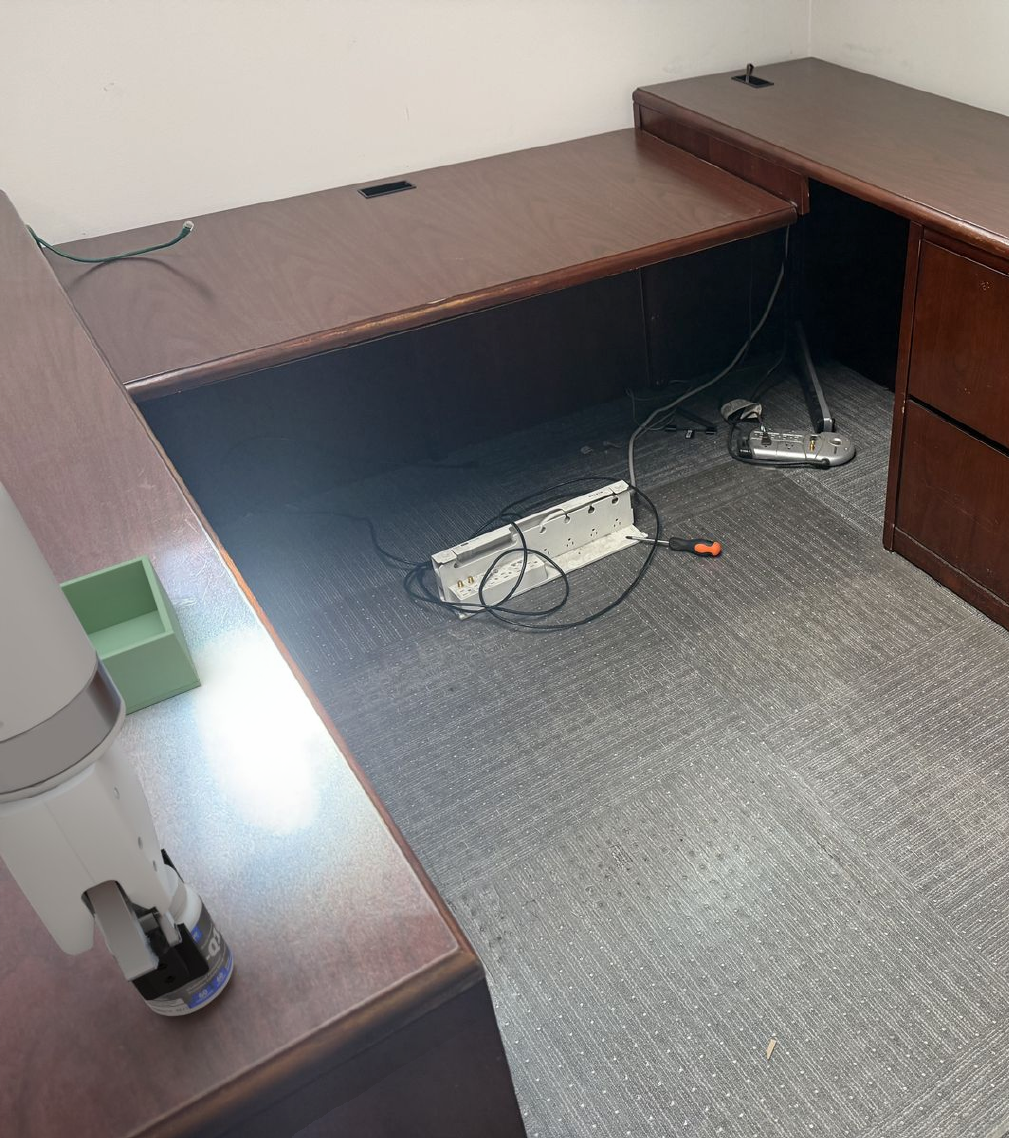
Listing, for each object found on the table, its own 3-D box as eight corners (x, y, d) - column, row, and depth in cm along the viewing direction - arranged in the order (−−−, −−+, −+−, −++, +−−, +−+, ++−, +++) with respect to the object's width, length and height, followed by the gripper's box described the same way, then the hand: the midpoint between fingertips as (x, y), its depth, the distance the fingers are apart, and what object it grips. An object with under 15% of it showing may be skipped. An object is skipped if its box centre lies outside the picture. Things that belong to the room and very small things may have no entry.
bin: (201, 685, 78) (173, 632, 75) (88, 730, 75) (54, 677, 72) (173, 605, 86) (146, 554, 82) (68, 643, 82) (36, 591, 79)
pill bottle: (214, 1019, 58) (159, 935, 52) (130, 1017, 58) (67, 933, 52) (249, 942, 61) (200, 856, 56) (170, 940, 61) (114, 854, 56)
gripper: (-86, 641, 50) (73, 868, 61) (-74, 896, 39) (118, 1115, 50) (87, 584, 53) (208, 810, 64) (144, 805, 42) (278, 1031, 53)
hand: (167, 942), depth 57 cm, fingers closed on pill bottle, 4 cm apart
